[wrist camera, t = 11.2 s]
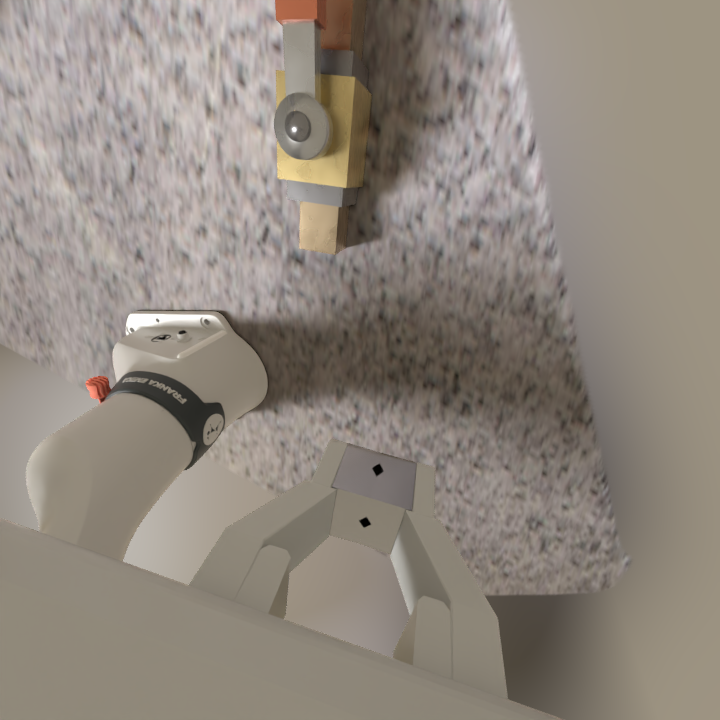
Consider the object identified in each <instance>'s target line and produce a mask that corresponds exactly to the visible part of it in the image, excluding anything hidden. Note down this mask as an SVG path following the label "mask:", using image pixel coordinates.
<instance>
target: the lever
mask: <svg viewBox="0 0 720 720" xmlns="http://www.w3.org/2000/svg"><path fill="white" fill-rule="evenodd" d="M275 6H276V20H277V21H278V22H279V23H280V24H281V25H282V26H283V43H284V65H285V87H286V97H285V98H284V99H283V100H282V101H281V102H280V104H279V106H278V108H277V110H276V113H275V119H274V129H275V135H276V138H277V140H278V143H279V145H280V146H281V148H282V149H283V150H284V151H285V153H287V154H288V155H289V156H291V157H293V158H295V159H300V160H307V161H314V160H317V159H319V158H321V157H322V156H324V155H325V154H326V153H327V151H328V150H329V148H330V146H331V143H332V140H333V122H332V119H331V116H330V114H329V112H328V110H327V109H326V107H325V106H324V105H323V104H322V103H321V30H326V0H275Z"/></svg>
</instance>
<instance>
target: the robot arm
mask: <svg viewBox="0 0 720 720" xmlns="http://www.w3.org/2000/svg"><path fill="white" fill-rule="evenodd" d="M208 321H209V322H210V323H209V322H208ZM113 366H114V371H115V376H116V380H117V383H116V385H115V386H114V387H113V388H112V390H111V389H110V387H109V381H108V378H107V377H105V376H97V377H93V379H92V378H90V379H89V380H87V381H86V386H87V388H88V389H89V391H90V396H91V397H92V398H95V399H99V402H100V404H99V405H97V406H95V407H94V408H92V409H91V410H89V411H88V412H86V413H84V414H83V415H82V416H80V417H78V418H77V419H75V420H74V421H72V422H70V423H69V424H67V425H66V426H64V427H63V428H61V429H60V430H58V431H56V432H55V433H53V434H52V435H50V436H49V437H47V438H46V439H45V440H44V441H42V442H41V443H40V445H39V446H38V447H37V448H36V449H35V450H34V452H33V454H32V455H31V457H30V459H29V462H28V464H27V469H26V483H27V488H28V493H29V497H30V500H31V503H32V505H33V508H34V511H35V513H36V516H37V519H38V524H39V532H38V531H36V530H33V529H30V528H27V527H24V526H22V525H19V524H16V523H13V522H11V521H8V520H5V519H2V518H0V720H564V719H561V718H557V717H555V716H552V715H549V714H547V713H544V712H541V711H538V710H536V709H533V708H530V707H527V706H524V705H522V704H519V703H516V702H513V701H510V700H508V698H507V689H506V681H505V673H504V665H503V657H502V650H501V641H500V633H499V625H498V618H497V616H496V615H495V613H494V611H493V609H492V608H491V606H490V604H489V603H488V601H487V599H486V597H485V596H484V594H483V592H482V591H481V589H480V587H479V586H478V584H477V582H476V580H475V579H474V577H473V575H472V574H471V572H470V570H469V569H468V567H467V565H466V564H465V562H464V560H463V558H462V557H461V555H460V553H459V552H458V550H457V548H456V547H455V545H454V543H453V541H452V540H451V538H450V536H449V535H448V533H447V531H446V530H445V528H444V526H443V524H442V523H441V521H440V520H438V519H435V518H434V509H435V468H434V467H432V466H429V465H425V464H421V463H416V462H413V461H410V460H406V459H402V458H398V457H395V456H391V455H387V454H384V453H380V452H376V451H373V450H370V449H366V448H363V447H360V446H357V445H353V444H350V443H349V444H348V443H345V442H342V441H339V440H336V439H333V438H332V439H331V440H330V441H329V442H328V445H327V447H326V449H325V451H324V453H323V456H322V458H321V460H320V462H319V464H318V467H317V469H316V471H315V473H314V475H313V477H312V480H311V481H308V480H305V481H303V482H301V483H300V484H298V485H296V486H295V487H293V488H291V489H290V490H288V491H286V492H285V493H283V494H281V495H280V496H278V497H276V498H275V499H273V500H271V501H270V502H268V503H267V504H265V505H263V506H261V507H260V508H258V509H256V510H255V511H253V512H252V513H250V514H248V515H247V516H245V517H244V518H242V519H240V520H238V521H237V522H235V523H233V524H232V525H230V526H228V527H227V528H226V529H225V530H224V532H223V533H222V535H221V537H220V538H219V539H218V541H217V542H216V544H215V546H214V547H213V549H212V550H211V552H210V553H209V555H208V556H207V558H206V559H205V561H204V563H203V564H202V566H201V567H200V569H199V571H198V572H197V573H196V575H195V576H194V578H193V580H192V581H191V582H190V584H189V585H187V584H184V583H181V582H178V581H175V580H173V579H170V578H167V577H164V576H162V575H159V574H156V573H153V572H150V571H148V570H145V569H141V568H139V567H136V566H133V565H131V564H128V563H125V562H123V559H124V556H125V553H126V551H127V548H128V546H129V543H130V541H131V539H132V537H133V535H134V533H135V532H136V530H137V528H138V527H139V525H140V523H141V522H142V520H143V519H144V518H145V516H146V515H147V514H148V512H149V511H150V510H151V508H152V507H153V506H154V504H155V503H156V502H157V501H158V499H159V498H160V497H161V496H162V494H163V493H164V492H165V490H167V488H168V487H169V486H170V485H171V484H172V483H173V481H174V480H175V479H176V478H177V477H178V476H179V475H180V474H181V472H182V471H184V470H187V469H189V468H190V467H192V466H193V465H194V464H195V463H196V462H197V461H198V460H199V459H200V458H201V457H202V456H203V454H204V453H205V452H206V451H207V450H208V449H209V448H210V447H211V446H212V444H213V443H214V442H215V441H216V439H217V438H218V437H219V435H220V434H221V432H222V431H223V430H224V429H225V428H226V427H228V426H229V425H230V424H231V423H233V422H234V421H235V420H237V419H238V418H239V417H241V416H242V415H244V414H245V413H247V412H248V411H250V410H252V409H253V408H255V407H257V406H258V405H259V404H260V403H261V402H262V401H263V400H264V398H265V396H266V393H267V388H268V380H267V374H266V371H265V368H264V366H263V363H262V362H261V360H260V358H259V356H258V355H257V354H256V352H255V351H254V350H253V349H252V347H251V346H250V345H249V344H248V343H246V342H245V341H244V340H243V339H242V338H241V337H239V336H238V335H237V334H236V333H235V332H234V331H233V329H232V328H231V326H230V325H229V323H228V322H227V320H226V319H225V318H224V316H223V315H222V314H220V313H219V312H215V311H134V312H133V313H131V314H130V315H129V316H128V319H127V323H126V336H125V337H123V338H122V339H120V340H119V341H118V342H117V343H116V345H115V347H114V350H113ZM329 535H331V536H334V537H338V538H341V539H345V540H349V541H352V542H356V543H359V544H362V545H365V546H368V547H370V548H373V549H376V550H379V551H382V552H385V553H388V554H390V557H391V560H392V563H393V566H394V569H395V571H396V575H397V578H398V580H399V584H400V587H401V590H402V593H403V596H404V599H405V602H406V604H407V608H408V611H409V614H410V618H409V620H408V622H407V624H406V626H405V629H404V631H403V632H402V635H401V637H400V639H399V641H398V643H397V645H396V647H395V650H394V651H393V658H390V657H387V656H385V655H382V654H379V653H376V652H374V651H371V650H368V649H365V648H363V647H360V646H357V645H354V644H351V643H349V642H346V641H343V640H340V639H337V638H335V637H332V636H329V635H326V634H324V633H321V632H318V631H315V630H312V629H309V628H307V627H304V626H301V625H298V624H296V623H293V622H290V621H287V620H284V618H285V615H286V606H287V595H288V583H289V573H290V572H291V571H292V570H293V569H294V568H295V567H297V566H298V565H299V564H300V563H301V562H302V561H303V560H304V559H305V558H306V557H307V556H308V555H309V554H311V553H312V552H313V551H314V550H315V549H316V548H317V547H318V546H319V545H320V544H321V543H322V542H324V541H325V540H326V539H327V538H328V537H329Z"/></svg>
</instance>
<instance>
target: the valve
mask: <svg viewBox="0 0 720 720" xmlns="http://www.w3.org/2000/svg"><path fill="white" fill-rule="evenodd" d="M366 5H367V0H326V30H321V103H322V104H323V105H324V106H325V107H326V109H327V110H328V112H329V114H330V116H331V119H332V122H333V140H332V143H331V146H330V148H329V150H328V151H327V153H326V154H325V155H324V156H322V157H321V158H319V159H317V160H314V161H307V160H300V159H295V158H293V157H291V156H289V155H288V154H287V153H285V151H284V150H283V149H282V148H281V146H280V145H279V143H278V140H277V171H278V179H286V180H287V199H289V200H296V201H300V241H299V249H305V250H311V251H317V252H322V253H328V254H334V255H336V254H337V253H339V252H340V251H342V250H343V249H345V248H346V239H347V227H348V215H349V205H353V204H356V200H357V190H358V187H363V179H364V169H365V159H366V149H367V139H368V130H369V120H370V110H371V100H372V95H371V94H370V92H369V91H368V90H367V84H368V74H369V71H368V70H367V68H366V67H365V66H364V64H363V63H362V52H363V40H364V29H365V17H366ZM285 97H286V87H285V71H279V70H276V98H277V108H278V106H279V104H280V102H281V101H282V100H283V99H284V98H285Z"/></svg>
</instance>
